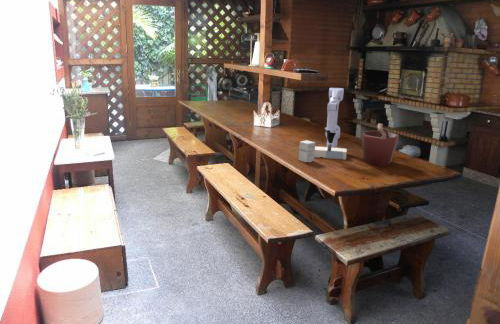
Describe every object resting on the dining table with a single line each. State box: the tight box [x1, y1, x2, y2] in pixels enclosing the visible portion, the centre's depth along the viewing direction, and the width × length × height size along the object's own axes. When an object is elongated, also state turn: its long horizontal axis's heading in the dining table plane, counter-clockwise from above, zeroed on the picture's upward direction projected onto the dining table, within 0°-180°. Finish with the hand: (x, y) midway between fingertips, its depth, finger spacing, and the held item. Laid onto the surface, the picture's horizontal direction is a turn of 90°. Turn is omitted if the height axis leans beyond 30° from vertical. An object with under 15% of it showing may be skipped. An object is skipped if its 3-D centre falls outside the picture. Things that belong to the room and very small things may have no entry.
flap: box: [325, 144, 343, 160], centre depth 268 cm, size 2×10×9 cm, turn 77°
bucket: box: [360, 123, 400, 167], centre depth 261 cm, size 24×22×25 cm
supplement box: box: [298, 139, 316, 163], centre depth 262 cm, size 7×7×13 cm
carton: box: [314, 145, 348, 160], centre depth 275 cm, size 10×24×5 cm, turn 78°
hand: (329, 142), depth 266 cm, fingers open, 7 cm apart
